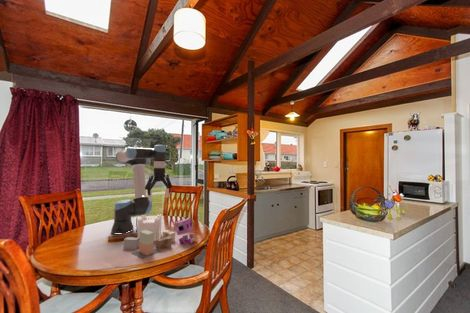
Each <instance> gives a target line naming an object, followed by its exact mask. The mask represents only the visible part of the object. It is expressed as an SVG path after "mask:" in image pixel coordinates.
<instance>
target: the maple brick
mask: <svg viewBox="0 0 470 313" xmlns="http://www.w3.org/2000/svg"><path fill="white" fill-rule="evenodd" d="M168 236H169V237H171V238H172V239H171V243H173V242H175V241H176V231H172V230H167V229H166V230H163V231H162V238H164V237H168Z"/></svg>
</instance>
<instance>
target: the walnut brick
mask: <svg viewBox="0 0 470 313" xmlns="http://www.w3.org/2000/svg"><path fill="white" fill-rule="evenodd" d="M171 239H172V238H171V237H169V236H168V237H164V238H163V237H161V238H159V239H157V241H156V243H155V244H156V248H155V249H156V250H158V251H161V250H165V249H168V248H171V247H172V242H171Z"/></svg>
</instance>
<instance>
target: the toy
mask: <svg viewBox="0 0 470 313" xmlns="http://www.w3.org/2000/svg"><path fill="white" fill-rule="evenodd" d="M174 225H175V226H174V227H175V230H176V234H177V236H180V235H182V236H181V237H180V238H178V241H179V244H181V243H182V244H183V243H184V242H185V241H186V243H187V245H189V244H192V243H193V239H195V238H196V234H195V232H194V233H193V232H192V233H190V232H191V231H193V230H194V227H193V223H192V219H191V218H190V217H189V218H186V219H183V220H182V219H181V220H179V221H177V222H174ZM188 233H189V236H188Z"/></svg>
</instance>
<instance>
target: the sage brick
mask: <svg viewBox="0 0 470 313" xmlns="http://www.w3.org/2000/svg"><path fill="white" fill-rule="evenodd" d="M140 242H141V243H144V244H146V245H149V244H152V243H153V244H154V243H155V241H154V232H150V231H147V230H144V231H141V232H140Z"/></svg>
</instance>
